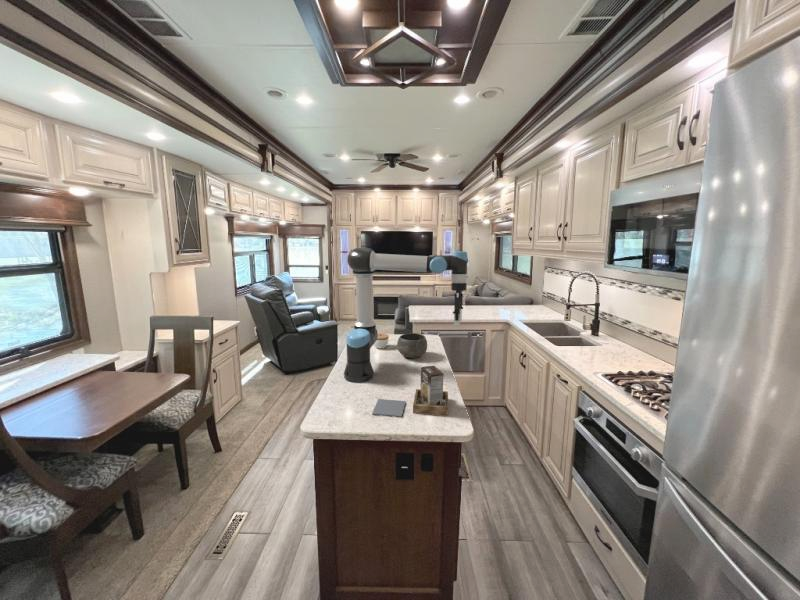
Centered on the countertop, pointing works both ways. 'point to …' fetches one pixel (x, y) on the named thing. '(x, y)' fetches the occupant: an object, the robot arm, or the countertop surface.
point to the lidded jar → (381, 341)
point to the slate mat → (389, 407)
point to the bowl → (412, 345)
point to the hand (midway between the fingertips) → (457, 324)
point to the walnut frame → (430, 408)
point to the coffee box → (431, 386)
